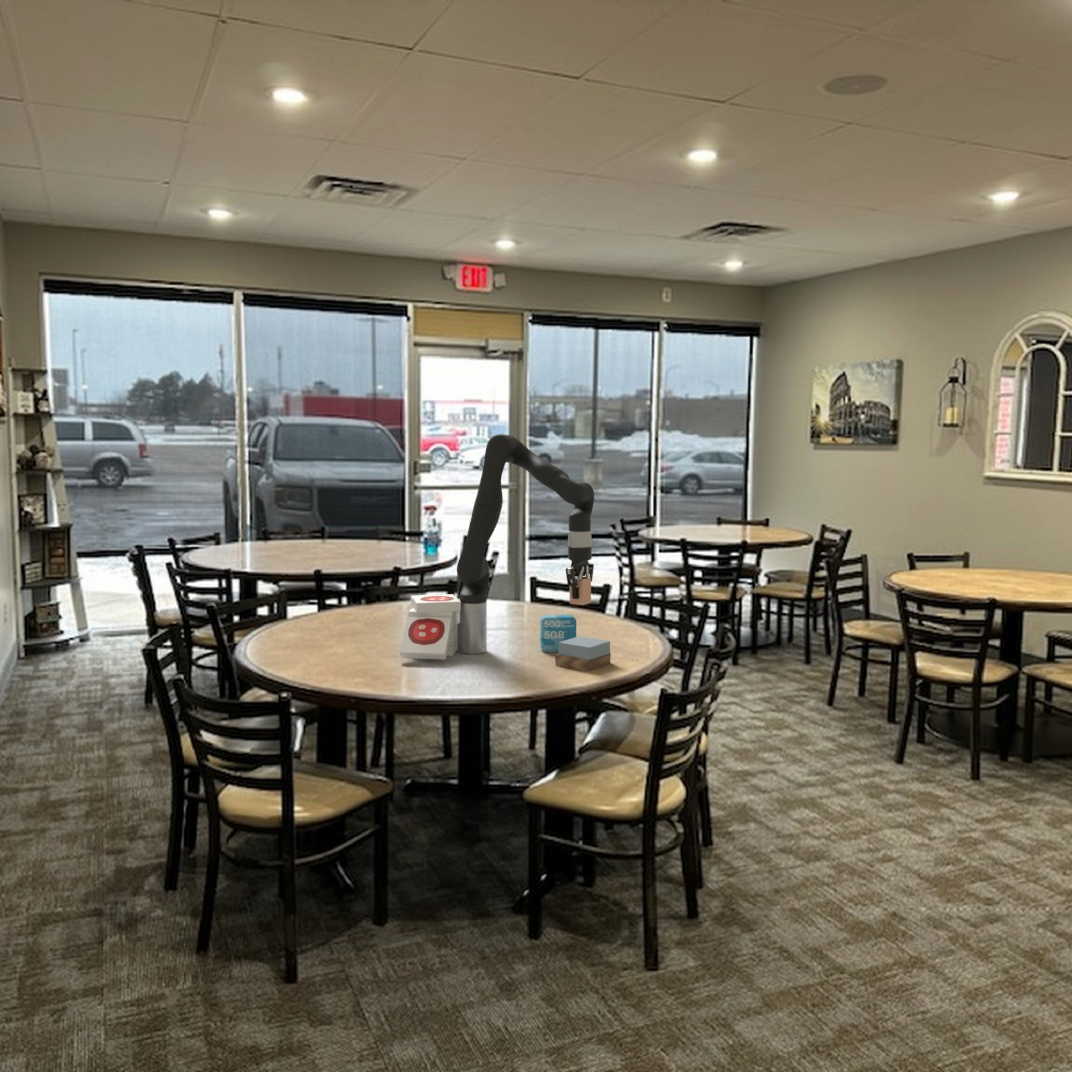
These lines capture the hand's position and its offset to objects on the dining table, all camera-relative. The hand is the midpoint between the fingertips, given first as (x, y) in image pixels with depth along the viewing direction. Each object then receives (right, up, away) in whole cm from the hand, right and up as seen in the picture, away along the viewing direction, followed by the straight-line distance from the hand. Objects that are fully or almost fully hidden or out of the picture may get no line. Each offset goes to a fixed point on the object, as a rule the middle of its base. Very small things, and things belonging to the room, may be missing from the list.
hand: (580, 597), depth 306 cm
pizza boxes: (-49, -20, +16) cm, 56 cm away
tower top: (+1, -18, +2) cm, 19 cm away
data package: (-7, -20, +22) cm, 30 cm away
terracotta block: (0, -2, 0) cm, 2 cm away
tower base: (+1, -22, +3) cm, 23 cm away
